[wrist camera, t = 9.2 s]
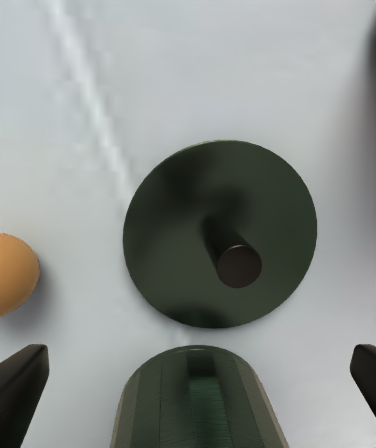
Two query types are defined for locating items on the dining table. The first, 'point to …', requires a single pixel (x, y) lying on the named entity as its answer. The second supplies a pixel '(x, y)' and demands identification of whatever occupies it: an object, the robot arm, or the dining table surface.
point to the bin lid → (220, 234)
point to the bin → (196, 403)
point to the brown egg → (16, 273)
